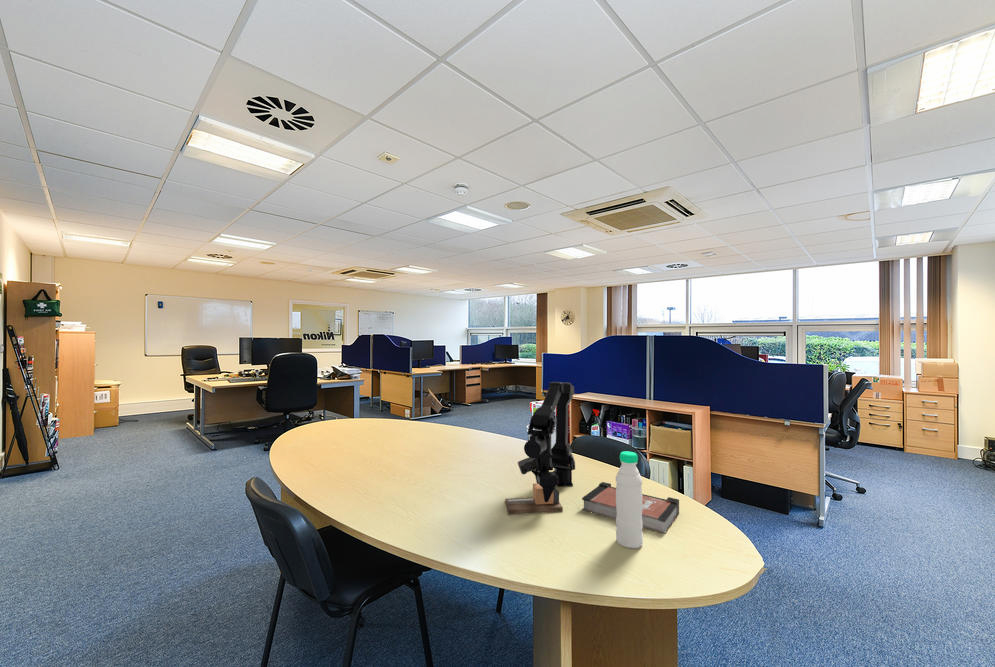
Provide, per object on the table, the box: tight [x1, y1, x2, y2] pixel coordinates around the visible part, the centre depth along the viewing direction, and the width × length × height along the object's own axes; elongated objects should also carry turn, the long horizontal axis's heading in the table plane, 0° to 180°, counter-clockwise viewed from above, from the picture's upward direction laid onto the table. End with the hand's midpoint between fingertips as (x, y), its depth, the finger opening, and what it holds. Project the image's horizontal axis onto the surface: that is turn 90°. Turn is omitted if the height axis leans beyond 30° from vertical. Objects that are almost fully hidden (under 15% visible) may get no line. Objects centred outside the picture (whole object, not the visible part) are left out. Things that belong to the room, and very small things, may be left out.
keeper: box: [532, 483, 554, 505], centre depth 133 cm, size 6×5×5 cm
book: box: [581, 481, 680, 535], centre depth 129 cm, size 26×18×5 cm
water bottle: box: [615, 450, 644, 549], centre depth 110 cm, size 7×7×25 cm
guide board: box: [504, 496, 564, 515], centre depth 133 cm, size 18×9×2 cm, turn 96°
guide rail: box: [508, 487, 560, 505], centre depth 133 cm, size 17×4×4 cm, turn 96°
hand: (543, 496), depth 133 cm, fingers open, 9 cm apart
